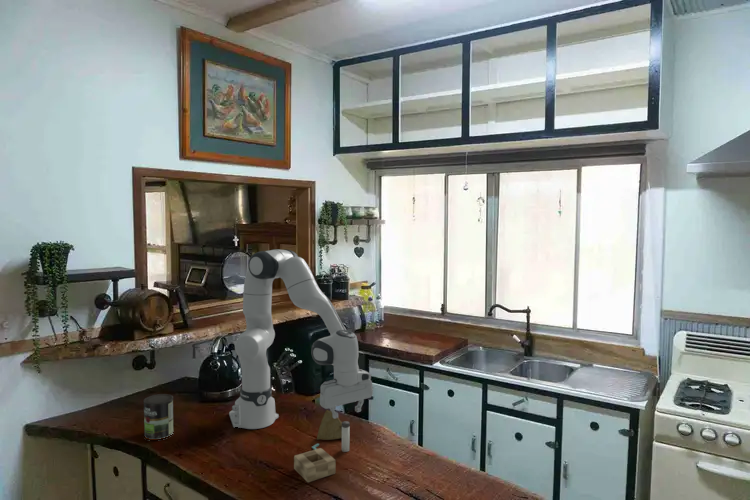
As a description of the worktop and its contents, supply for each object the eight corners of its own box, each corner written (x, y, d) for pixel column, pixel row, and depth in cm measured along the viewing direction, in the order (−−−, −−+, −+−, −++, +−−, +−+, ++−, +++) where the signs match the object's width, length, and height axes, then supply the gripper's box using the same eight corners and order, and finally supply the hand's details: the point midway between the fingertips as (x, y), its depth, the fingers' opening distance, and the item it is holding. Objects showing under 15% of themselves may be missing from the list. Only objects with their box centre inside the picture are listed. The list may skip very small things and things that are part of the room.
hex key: (310, 446, 179) (310, 445, 179) (318, 444, 181) (318, 443, 181) (325, 459, 170) (325, 457, 170) (333, 456, 172) (333, 455, 172)
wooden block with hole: (294, 468, 164) (294, 455, 163) (320, 460, 169) (321, 447, 169) (307, 482, 155) (307, 468, 155) (335, 473, 161) (335, 460, 161)
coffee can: (157, 443, 181) (157, 405, 180) (138, 437, 185) (137, 400, 184) (179, 432, 190) (179, 396, 189) (160, 427, 194) (159, 392, 193)
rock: (353, 428, 190) (332, 419, 195) (348, 416, 184) (327, 407, 189) (339, 453, 183) (317, 443, 188) (333, 441, 178) (311, 431, 183)
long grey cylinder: (340, 449, 178) (340, 422, 177) (346, 447, 179) (347, 420, 178) (344, 452, 175) (344, 425, 174) (350, 450, 177) (351, 423, 176)
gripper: (324, 385, 167) (325, 424, 168) (374, 373, 178) (375, 410, 179) (316, 380, 172) (316, 418, 173) (365, 369, 183) (365, 405, 184)
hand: (347, 414), depth 176 cm, fingers open, 8 cm apart
